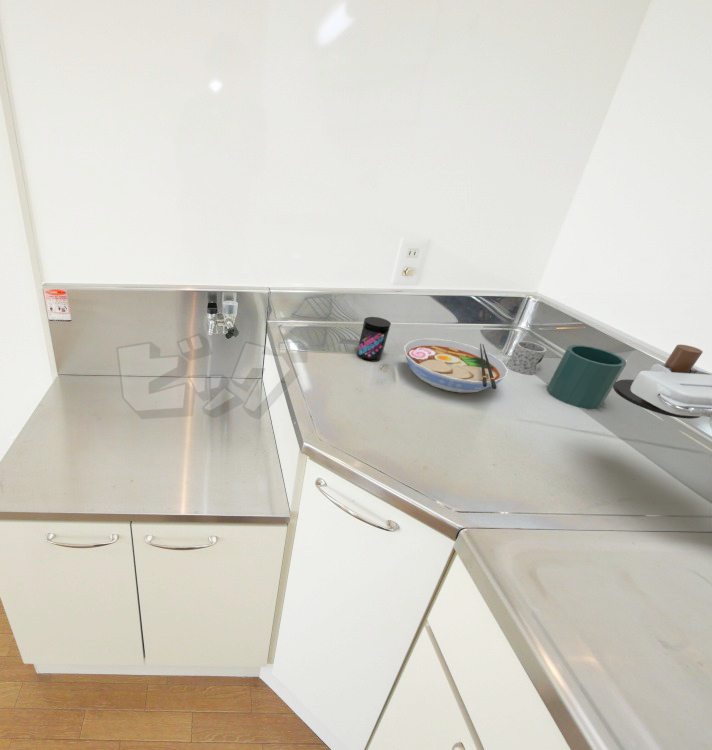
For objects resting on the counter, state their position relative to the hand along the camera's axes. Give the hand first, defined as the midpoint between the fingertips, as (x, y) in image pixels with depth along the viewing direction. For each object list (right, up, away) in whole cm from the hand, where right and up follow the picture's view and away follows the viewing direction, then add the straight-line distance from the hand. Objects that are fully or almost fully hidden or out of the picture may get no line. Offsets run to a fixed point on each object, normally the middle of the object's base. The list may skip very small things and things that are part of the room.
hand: (669, 368), depth 70 cm
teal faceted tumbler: (+10, -7, +31) cm, 33 cm away
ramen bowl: (-18, -3, +36) cm, 40 cm away
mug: (+9, +1, +46) cm, 47 cm away
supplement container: (-32, +4, +47) cm, 58 cm away
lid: (0, -5, +2) cm, 5 cm away
